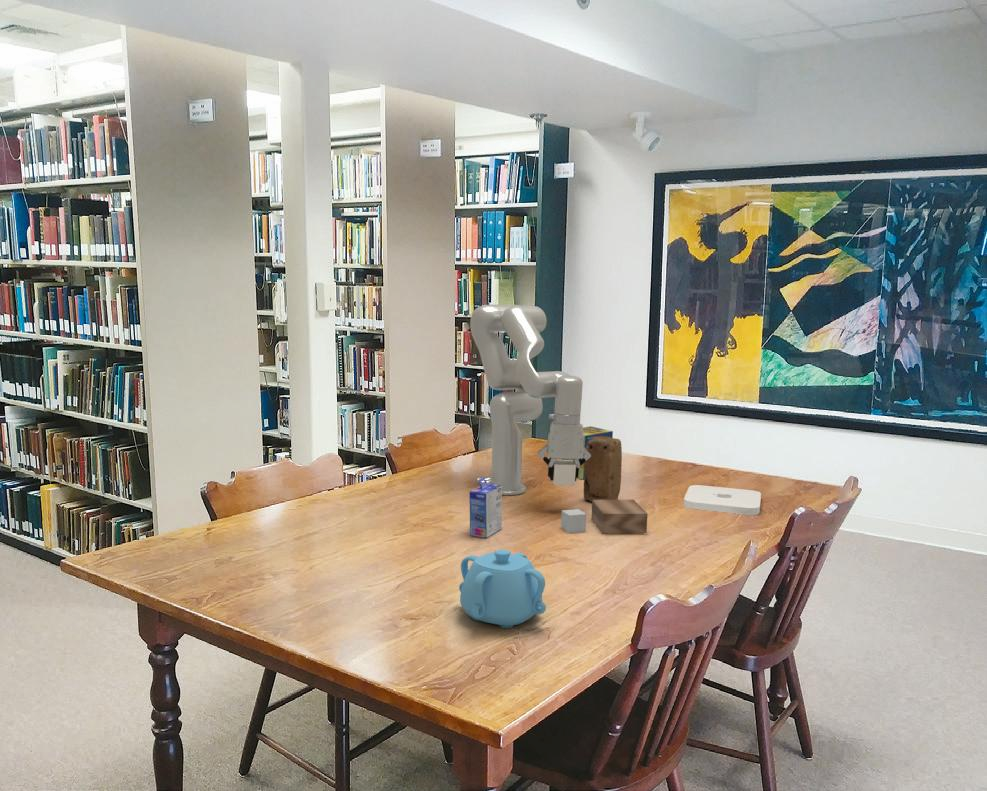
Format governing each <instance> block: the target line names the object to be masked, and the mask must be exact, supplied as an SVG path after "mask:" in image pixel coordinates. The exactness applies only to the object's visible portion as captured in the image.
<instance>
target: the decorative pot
mask: <svg viewBox="0 0 987 791" xmlns="http://www.w3.org/2000/svg"><path fill="white" fill-rule="evenodd" d="M469 561H471V565H470V567H469ZM460 572H461V575H462V576H461V577H462V580H463V581H462V582H461V583H460V584H459V589H458V590H459V592H460V596H459V602H460V605H461V607H462V609H463V610H464V612H465V613H466V614H467V616H470V617H471V619H472V620H474V621H481V622H483V623H488V624H493V625H499V627H501V628H503V629H510V628H513V627H514V626H517V625H520V624H522V623H525V622H526V621H528V620H530V619H531V618H532V617H533V616H535V615H542V614H544V613H545V612H546V609H547V606H546V604H545V602H544V601H543V593H544V591H545V589H546V588H545V587H546V579H545V576H544V574H542V572H540V571H539V570H538V569H535V567H534V565H533V563H532V561H531V560H530V559H528V556H527V555H526V554H525V553H522V552H516V553H511V551H510V550H508V549H502V548H501V549H496V550H494V552H489V553H485V554H482V555H480V556H478V555H473V554H472V555H468V556H465V557H464V558H463V559H462V560H461V563H460Z"/></svg>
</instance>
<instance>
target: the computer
mask: <svg viewBox="0 0 987 791" xmlns="http://www.w3.org/2000/svg"><path fill="white" fill-rule="evenodd" d="M761 497H762V493H761V492H760V491H757V490H751V489H743V488H733V487H732V488H731V487H721V486H713V485H701V484H694V485H693V484H692V485H690V486H689V487H688V488H687V490H686V493H685V495H684V497H683V507H684V506H685V507H684V508H686V507H687V508H686V509H688V508H691V509H690V510H693V509H700V510H699V511H703V510H707V511H706V512H712V511H718V512H717V513H721V512H727V513H726V514H731V513H736V514H735V515H740V514H746V515H745V516H758V515H757V514H759V513H761V501H762V500H761V499H762V498H761ZM759 515H760V514H759Z"/></svg>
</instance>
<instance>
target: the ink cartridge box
mask: <svg viewBox="0 0 987 791" xmlns="http://www.w3.org/2000/svg"><path fill="white" fill-rule="evenodd" d="M480 478H481V479H479V480H478V482H479V484H478V485H479V486H478V487H475V488H473V489H472V490H469V534H470V536H473V537H476V538H482V539H487V538H489V537H491V536H492V535H494V534H495V533H496V532H498V531H500V530H501V529H502V528H503V524H502V522H503V516H502V514H503V513H502V511H503V508H502V507H503V501H502V500H503V498H502V497H503V495H502V485H496V484H490V483H487V482H486V480H485V478H486V477H484V476H483V477H480ZM482 481H485V483H484V484H481V482H482Z"/></svg>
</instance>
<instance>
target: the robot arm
mask: <svg viewBox="0 0 987 791" xmlns="http://www.w3.org/2000/svg"><path fill="white" fill-rule="evenodd" d="M469 325H470V327H469V328H470V331H471V335H472V338H473V341H474V343H475V345H476V347H477V349H478V352H479V356H480V360H481V364H482V366H483V372H484V374H485V377H486V378H485V379H486V381H487V384H488V386H489V387H490V389H492V390H495V391H506V392H500V393H498V394H496V395H494V396H492V398H491V400H490V402H489V414H490V419H491V421H490V422H491V431H492V432H491V433H492V436H491V474H490V475H489V476H486V477H484V478H485V480H486V482H487V483H490V484H496V485H502V496H514V495H515V496H517V495H521V494H524V493H525V492H527V490H526V489H527V487H526V486H525V485H523V484H522V462H523V461H522V460H523V459H522V458H523V457H522V456H523V434H522V431H521V430H520V428H519V426H518V424H517V423H518V422H519V423H520V422H528V421H535V420H537V419H539V418H540V416H541V415H542V414H543V407H544V406H543V399H545V398H555V399H554V411H553V413H551V414H548V419H549V420H552V422H551V423H550V426H549V431H548V437H547V444H546V445H544V446H543V447H542V448H541V449H540V450H539V451H538V452H537V454H538V456H539V457H540V458H541V459H542V460H543V462H545V464H546V465H548V467H547V477H548V478H549V479H550V481H551V482H552V481H553V477H554V467H553V464H554V462H555V460H561V459H573V460H574V463H575V465H576V472H575V482H577V479H578V475H579V468H580V466H581V465H582V464H583V463H585V461H586V460H588V459H589V458H590V457H591V454H590V453H589V452H588V451H587V450H586V448H585V447H584V436H583V428H584V425H583V424H582V423H581V413H582V412H581V411H582V399H583V398H582V396H583V385H584V384H583V380H582V377H579V376H576V375H570V374H569V373H567V372H564V371H560V370H554V371H553V370H552V371H539V372H538V371H537V370H536V369H535V368H534V366H533V364H532V362H531V360H532V359H533V358H535V357H536V356H538V355H539V354H540V353H541V352H542V351H543V349H544V347H545V340H544V338H543V337H542V335H541V332H543V331H544V330H545V329H546V327H547V316H546V314H545V311H544V310H543V309H542V308H540V307H539V306H537V305H536V306H535V305H523V304H484V305H480V306H478V307H477V308H475V309H474V310H473V312H472V313H471V316H470V322H469ZM495 332H506V334H507V335H508V338H509V340H510V341H511V343H512V344H513V346H514V348H515V350H516V352H517V353H518V355H517V357H516V359H510V357H509V354H508V352H507V348H506V345H505V343H504V342H503V341H502V340H501V338H500V337H499V336H498V335H497V334H496V333H495ZM508 390H516V391H508ZM545 453H547V455H548V456H546V455H545ZM583 453H584V454H585V455H584V456H583ZM548 457H549V458H548ZM578 459H579V460H578ZM481 478H482V477H477V478H476V485H477V484H478V485H480V484H479V482H478V480H479V479H481ZM484 483H485V481H482V482H481V484H484Z"/></svg>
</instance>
